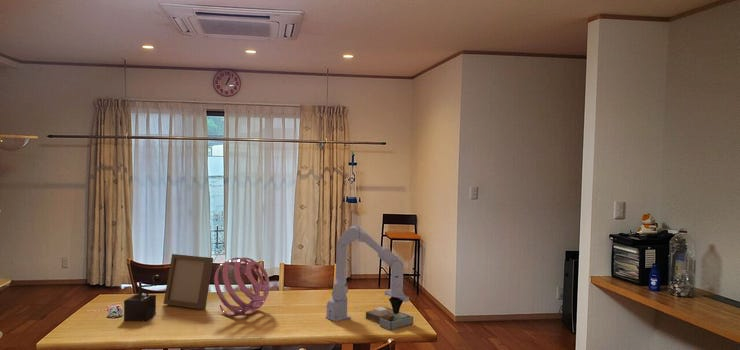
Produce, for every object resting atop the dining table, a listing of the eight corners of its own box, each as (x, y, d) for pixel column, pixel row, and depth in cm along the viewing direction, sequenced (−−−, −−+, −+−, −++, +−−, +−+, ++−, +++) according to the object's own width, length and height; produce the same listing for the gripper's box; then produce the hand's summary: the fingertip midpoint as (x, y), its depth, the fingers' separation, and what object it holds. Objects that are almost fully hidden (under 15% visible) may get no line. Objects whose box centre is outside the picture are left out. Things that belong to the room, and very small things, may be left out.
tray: (390, 330, 212) (390, 322, 212) (379, 326, 217) (379, 318, 217) (413, 324, 221) (413, 316, 221) (402, 320, 226) (402, 312, 226)
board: (382, 325, 219) (382, 318, 219) (365, 318, 228) (365, 311, 228) (403, 319, 227) (403, 313, 227) (386, 313, 237) (386, 307, 236)
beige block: (380, 316, 222) (380, 310, 222) (373, 313, 225) (373, 308, 225) (387, 314, 225) (387, 309, 225) (380, 312, 228) (381, 306, 228)
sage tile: (400, 323, 220) (400, 318, 220) (393, 320, 223) (393, 315, 223) (407, 321, 223) (407, 316, 222) (400, 319, 226) (400, 313, 226)
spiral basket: (190, 272, 229) (231, 244, 221) (231, 275, 253) (270, 249, 246) (205, 328, 217) (249, 300, 210) (247, 325, 241) (288, 300, 234)
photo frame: (199, 310, 233) (200, 259, 233) (163, 305, 240) (164, 255, 240) (218, 302, 247) (219, 254, 247) (183, 298, 254) (184, 251, 254)
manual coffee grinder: (147, 321, 217) (148, 282, 216) (123, 321, 217) (123, 281, 216) (162, 311, 232) (162, 273, 232) (139, 310, 232) (139, 273, 232)
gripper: (413, 286, 222) (413, 315, 222) (392, 280, 233) (391, 307, 233) (402, 288, 217) (402, 318, 217) (381, 282, 228) (380, 310, 228)
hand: (396, 313), depth 225 cm, fingers closed
